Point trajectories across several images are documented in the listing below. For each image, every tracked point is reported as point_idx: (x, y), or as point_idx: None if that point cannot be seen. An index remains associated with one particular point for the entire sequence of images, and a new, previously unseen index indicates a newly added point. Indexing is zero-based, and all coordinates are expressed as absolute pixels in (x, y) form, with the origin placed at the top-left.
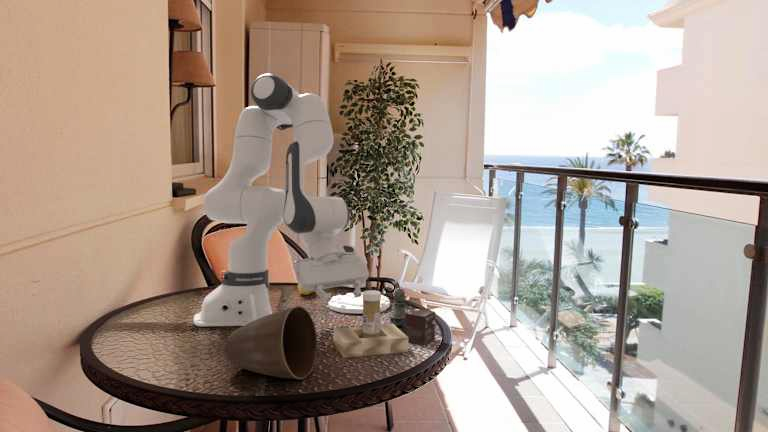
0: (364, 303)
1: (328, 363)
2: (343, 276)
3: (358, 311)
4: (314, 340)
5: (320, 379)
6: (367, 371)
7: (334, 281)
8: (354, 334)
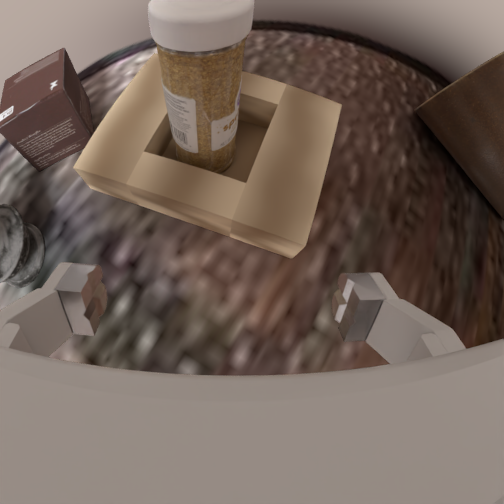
0: (244, 41)
1: (372, 128)
2: (123, 405)
3: None
4: (433, 102)
5: (403, 89)
6: (313, 58)
7: (301, 374)
8: (272, 139)
